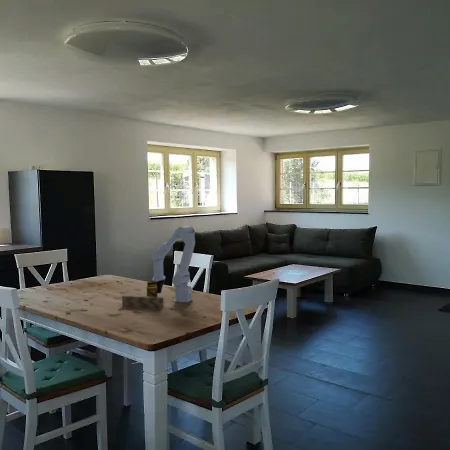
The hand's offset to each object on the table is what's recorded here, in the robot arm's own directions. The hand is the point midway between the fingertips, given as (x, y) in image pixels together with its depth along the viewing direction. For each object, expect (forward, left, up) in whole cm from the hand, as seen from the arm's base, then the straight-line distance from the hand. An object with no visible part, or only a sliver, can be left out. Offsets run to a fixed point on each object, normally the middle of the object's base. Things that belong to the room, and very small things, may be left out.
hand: (159, 293), depth 267 cm
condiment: (0, +11, -3) cm, 11 cm away
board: (-1, +23, -3) cm, 23 cm away
